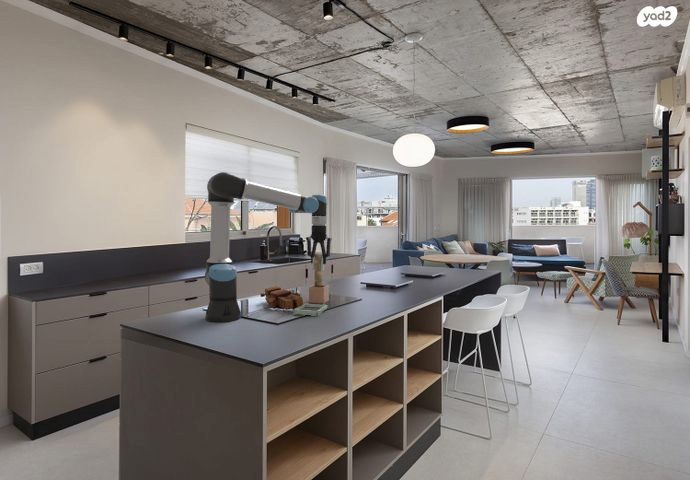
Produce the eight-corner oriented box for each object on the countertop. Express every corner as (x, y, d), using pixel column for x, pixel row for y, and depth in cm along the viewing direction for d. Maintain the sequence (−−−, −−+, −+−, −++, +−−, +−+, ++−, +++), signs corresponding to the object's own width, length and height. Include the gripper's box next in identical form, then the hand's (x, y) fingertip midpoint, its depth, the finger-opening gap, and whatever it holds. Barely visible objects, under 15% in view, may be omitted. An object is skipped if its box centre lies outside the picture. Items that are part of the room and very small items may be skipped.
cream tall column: (313, 289, 219) (313, 254, 218) (315, 287, 223) (316, 253, 222) (320, 289, 218) (321, 254, 217) (323, 288, 222) (323, 253, 221)
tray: (293, 314, 196) (293, 309, 196) (304, 308, 209) (304, 303, 209) (317, 316, 193) (317, 311, 193) (327, 309, 206) (327, 305, 206)
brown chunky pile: (311, 307, 206) (283, 296, 231) (309, 290, 205) (281, 281, 230) (279, 316, 197) (254, 304, 222) (277, 298, 196) (252, 288, 221)
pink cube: (309, 304, 218) (309, 286, 218) (314, 301, 226) (314, 284, 226) (323, 305, 216) (323, 287, 216) (328, 302, 224) (328, 285, 223)
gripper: (300, 224, 217) (300, 270, 219) (332, 225, 213) (331, 271, 214) (306, 224, 225) (305, 268, 226) (336, 225, 220) (336, 270, 221)
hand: (318, 270), depth 220 cm, fingers closed on cream tall column, 4 cm apart
